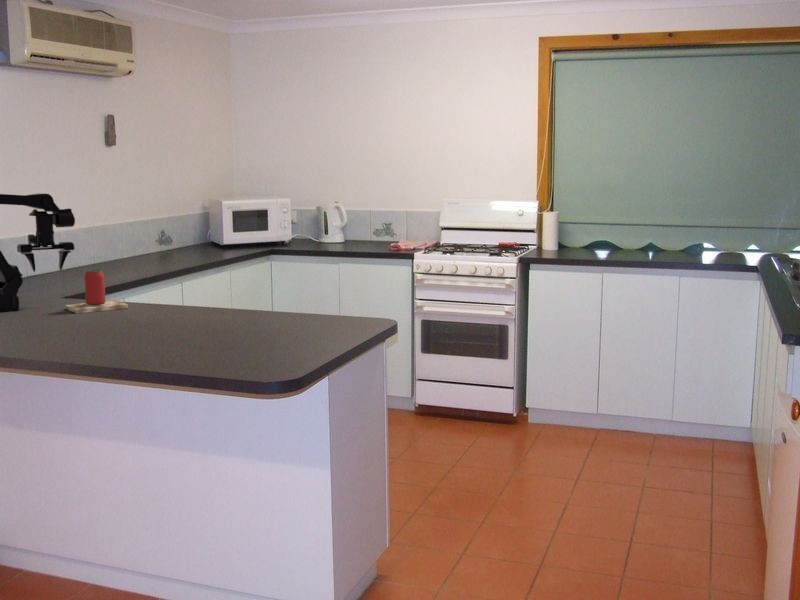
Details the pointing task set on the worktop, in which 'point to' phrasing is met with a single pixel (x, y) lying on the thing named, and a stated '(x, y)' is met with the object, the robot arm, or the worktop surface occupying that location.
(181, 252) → the worktop surface
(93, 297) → the beer can
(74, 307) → the ash board
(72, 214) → the robot arm
